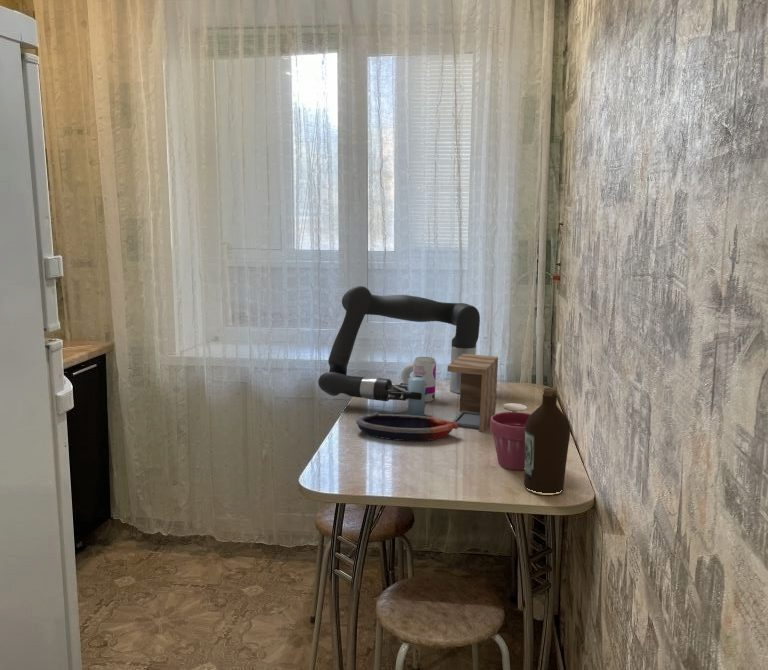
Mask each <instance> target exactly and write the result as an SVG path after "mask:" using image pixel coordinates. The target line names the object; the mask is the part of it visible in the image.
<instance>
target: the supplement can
mask: <svg viewBox="0 0 768 670" xmlns="http://www.w3.org/2000/svg"><path fill="white" fill-rule="evenodd" d="M412 363H413V372H412V377H422V378H425V379H426V386H425V389H427V395H425V403H428V401H430V402H432V401H434V400H435V399H436V382H437V381H436V379H437V377H436V376H437V375H436V374H437V361H436V359H435V358H434V357H431V356H430V357H429V356H417V357H415V358H414V361H413V362H412Z"/></svg>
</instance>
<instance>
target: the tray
mask: <svg viewBox="0 0 768 670" xmlns="http://www.w3.org/2000/svg"><path fill="white" fill-rule="evenodd" d="M451 422H455V423H457V424H458V427H459V428H467V429H474V430H479V424H480V413H476V412H468V411H459V413H458V415H457V416H456V417H455V418H454V419H453V420H452V421H451Z"/></svg>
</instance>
